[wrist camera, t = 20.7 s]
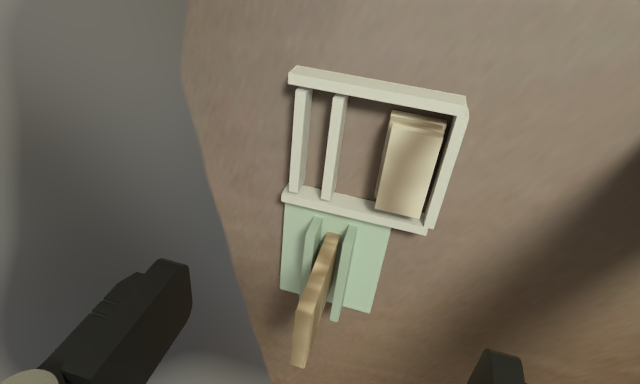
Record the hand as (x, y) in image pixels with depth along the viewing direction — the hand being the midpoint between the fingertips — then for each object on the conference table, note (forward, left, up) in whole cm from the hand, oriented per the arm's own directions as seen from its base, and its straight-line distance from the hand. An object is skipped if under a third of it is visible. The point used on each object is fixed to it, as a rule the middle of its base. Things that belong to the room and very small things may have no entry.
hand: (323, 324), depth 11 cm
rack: (+2, +10, -30) cm, 32 cm away
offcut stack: (-2, +10, -30) cm, 32 cm away
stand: (+4, +25, -30) cm, 39 cm away
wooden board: (+4, +25, -29) cm, 38 cm away
